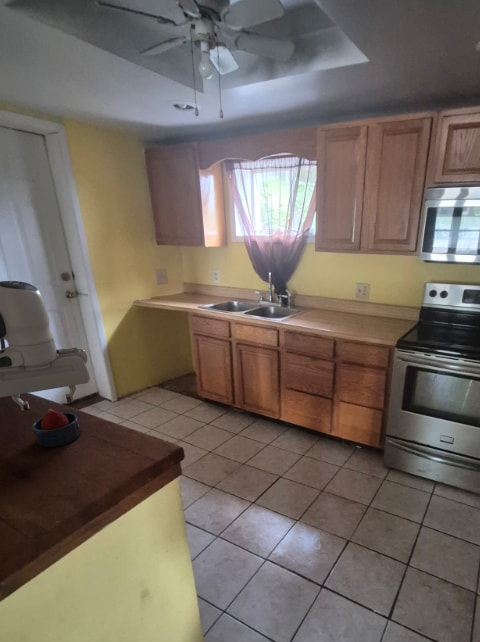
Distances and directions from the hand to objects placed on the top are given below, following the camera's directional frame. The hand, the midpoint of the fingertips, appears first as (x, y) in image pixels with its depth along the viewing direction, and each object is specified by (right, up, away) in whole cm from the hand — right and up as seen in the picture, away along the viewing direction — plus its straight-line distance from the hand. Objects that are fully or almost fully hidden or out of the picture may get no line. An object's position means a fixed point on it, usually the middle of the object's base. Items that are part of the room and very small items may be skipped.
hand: (48, 405), depth 92 cm
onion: (0, -8, +4) cm, 9 cm away
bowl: (0, -9, +4) cm, 10 cm away
